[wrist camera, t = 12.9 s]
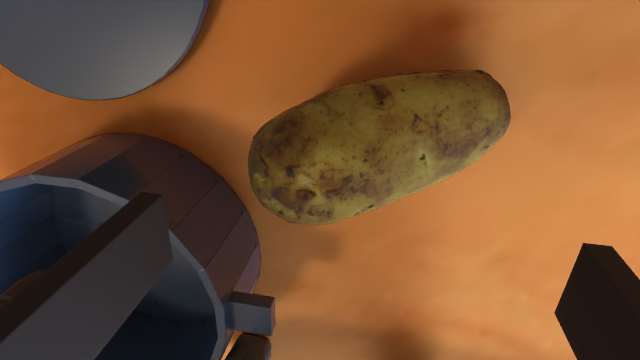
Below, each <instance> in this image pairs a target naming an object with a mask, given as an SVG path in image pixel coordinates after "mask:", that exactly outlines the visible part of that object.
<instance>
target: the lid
mask: <svg viewBox="0 0 640 360" xmlns="http://www.w3.org/2000/svg"><path fill="white" fill-rule="evenodd" d="M208 4H209V0H0V64H1V65H2V66H4V67H5V68H7V69H8V70H10V71H11V72H13V73H14V74H16V75H17V76H19V77H21V78H23V79H24V80H26V81H28V82H30V83H32V84H33V85H35V86H38V87H40V88H43V89H45V90H47V91H50V92H52V93H56V94H59V95H63V96H66V97H70V98H76V99H83V100H111V99H118V98H122V97H126V96H129V95H132V94H136V93H138V92H140V91H142V90H144V89H146V88H148V87H150V86H152V85H154V84H156V83H157V82H159V81H160V80H161V79H163V78H164V77H165V76H167V75H168V74H169V73H170V72H171V71H172V70H173V69H174V68H175V67H176V66H177V65H178V64H179V63H180V62H181V61H182V59H183V58H184V56H185V55H186V54H187V52H188V51H189V49H190V48H191V47H192V45H193V43H194V41H195V39H196V37H197V35H198V33H199V31H200V29H201V26H202V23H203V20H204V17H205V14H206V12H207V9H208Z"/></svg>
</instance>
